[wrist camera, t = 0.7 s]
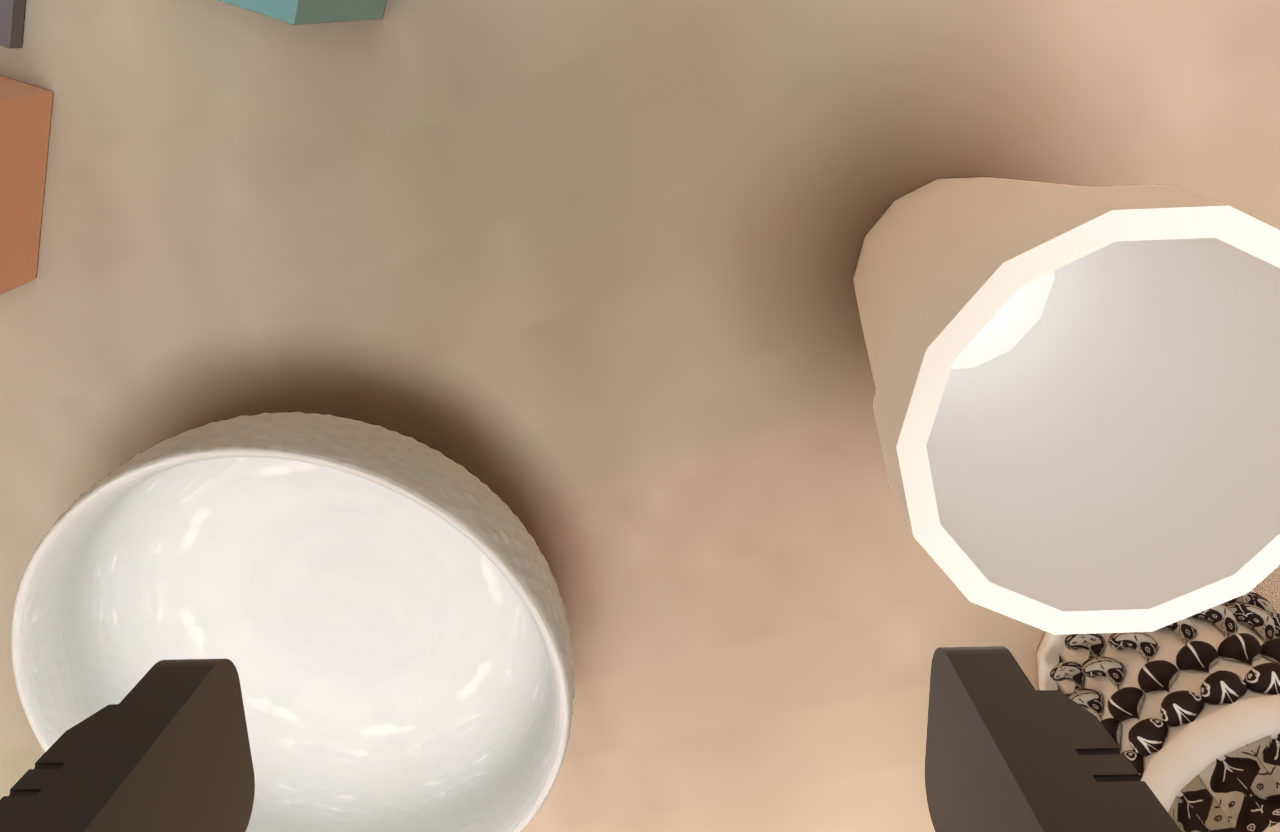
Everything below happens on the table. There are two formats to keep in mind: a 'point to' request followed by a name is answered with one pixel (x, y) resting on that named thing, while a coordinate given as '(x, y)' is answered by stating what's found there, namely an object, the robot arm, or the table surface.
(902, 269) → the foam cup
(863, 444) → the table surface
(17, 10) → the charcoal mat
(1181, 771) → the decorative candle
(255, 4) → the seafoam square box
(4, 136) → the salmon pink cube
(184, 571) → the cereal bowl
